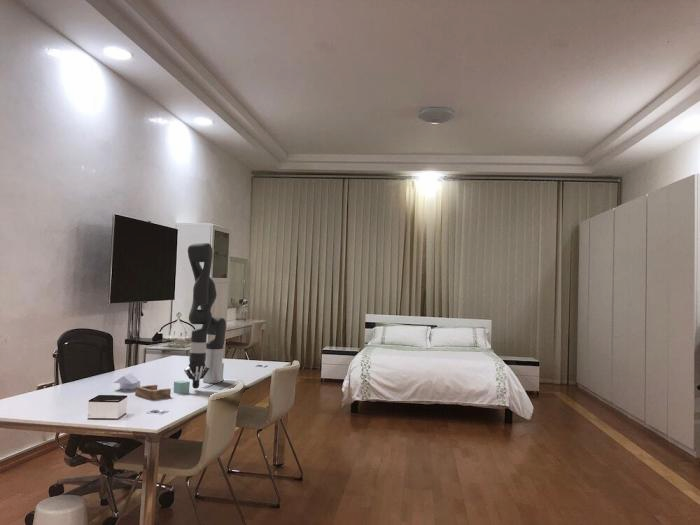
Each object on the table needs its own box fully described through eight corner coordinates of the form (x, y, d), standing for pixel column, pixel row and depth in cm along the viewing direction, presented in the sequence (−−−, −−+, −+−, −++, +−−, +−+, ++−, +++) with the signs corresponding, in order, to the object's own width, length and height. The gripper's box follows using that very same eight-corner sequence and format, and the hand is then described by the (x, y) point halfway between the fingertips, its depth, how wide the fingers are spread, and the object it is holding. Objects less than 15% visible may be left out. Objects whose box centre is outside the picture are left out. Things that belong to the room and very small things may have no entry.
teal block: (182, 391, 262) (183, 380, 263) (189, 392, 259) (189, 381, 260) (173, 392, 259) (174, 381, 259) (179, 394, 255) (180, 383, 256)
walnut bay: (154, 392, 255) (155, 384, 255) (170, 397, 248) (170, 388, 248) (135, 395, 248) (135, 386, 248) (150, 399, 240) (150, 391, 240)
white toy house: (132, 391, 256) (142, 386, 269) (133, 376, 256) (143, 372, 269) (112, 390, 256) (124, 385, 268) (113, 375, 256) (125, 371, 269)
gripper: (204, 349, 273) (202, 385, 273) (181, 351, 263) (178, 388, 262) (214, 351, 269) (211, 387, 268) (190, 353, 258) (188, 390, 258)
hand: (195, 388), depth 265 cm, fingers closed
